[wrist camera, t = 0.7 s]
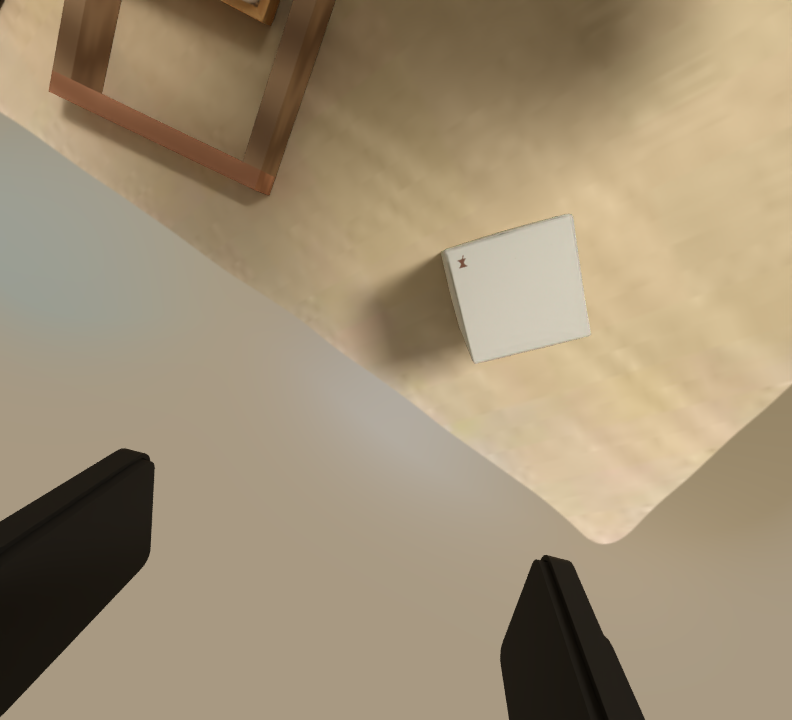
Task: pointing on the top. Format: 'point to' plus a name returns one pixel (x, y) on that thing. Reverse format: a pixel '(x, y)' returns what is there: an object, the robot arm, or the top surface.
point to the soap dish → (256, 8)
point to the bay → (83, 83)
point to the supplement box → (518, 289)
